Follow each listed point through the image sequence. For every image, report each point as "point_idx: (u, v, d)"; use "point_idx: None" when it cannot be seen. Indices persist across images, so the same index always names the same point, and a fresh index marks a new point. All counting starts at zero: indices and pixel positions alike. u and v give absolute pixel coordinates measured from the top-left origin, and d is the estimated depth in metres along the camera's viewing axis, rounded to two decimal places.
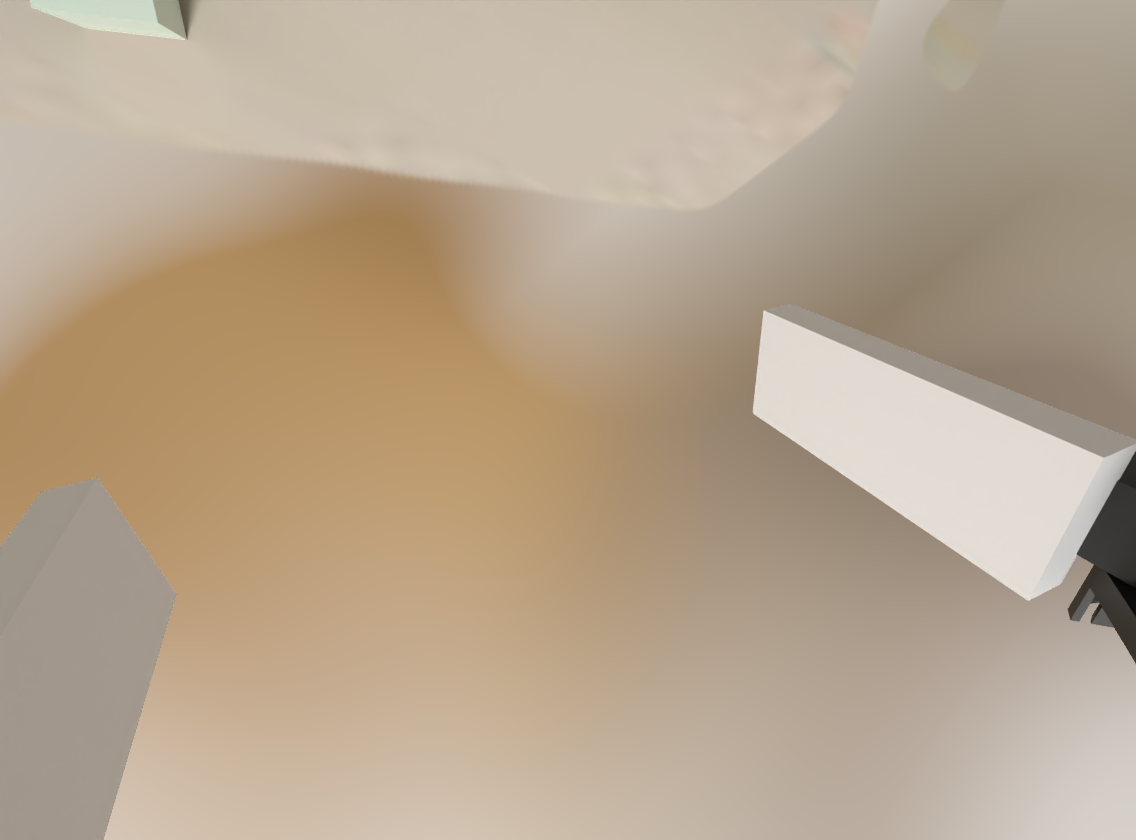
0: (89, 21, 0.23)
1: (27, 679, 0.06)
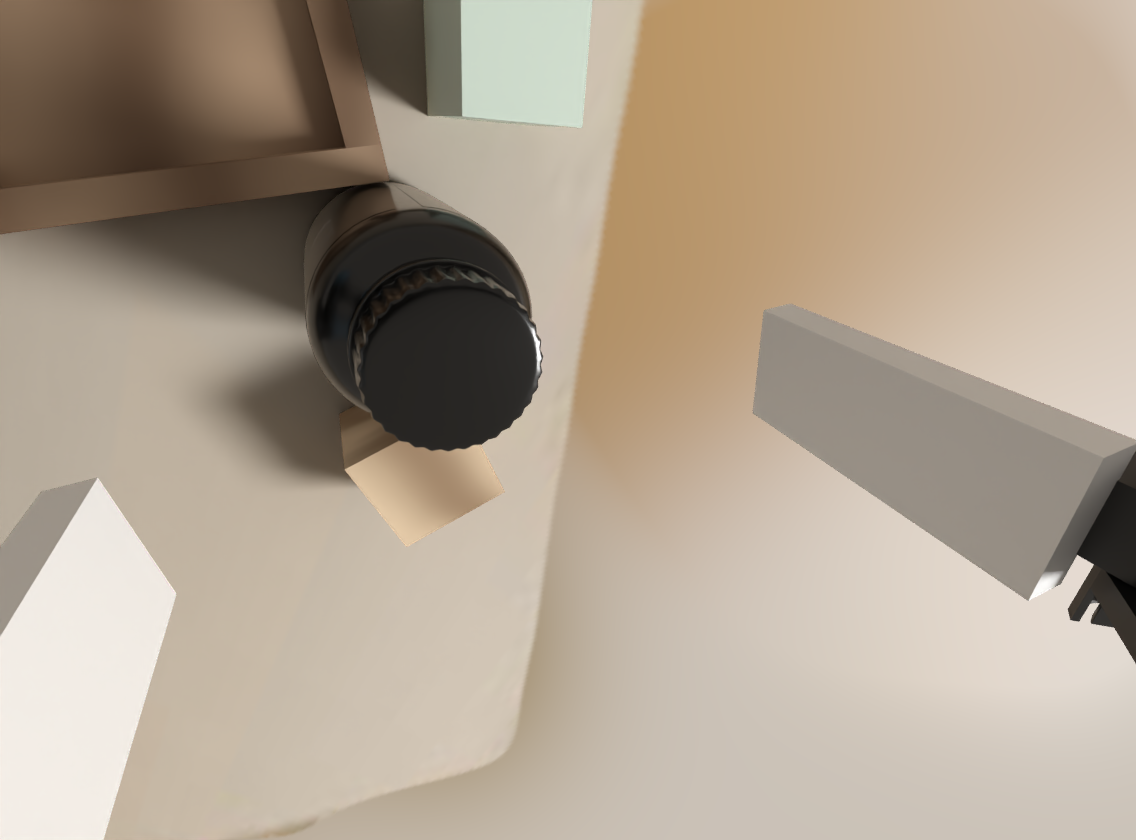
0: None
1: (26, 679, 0.06)
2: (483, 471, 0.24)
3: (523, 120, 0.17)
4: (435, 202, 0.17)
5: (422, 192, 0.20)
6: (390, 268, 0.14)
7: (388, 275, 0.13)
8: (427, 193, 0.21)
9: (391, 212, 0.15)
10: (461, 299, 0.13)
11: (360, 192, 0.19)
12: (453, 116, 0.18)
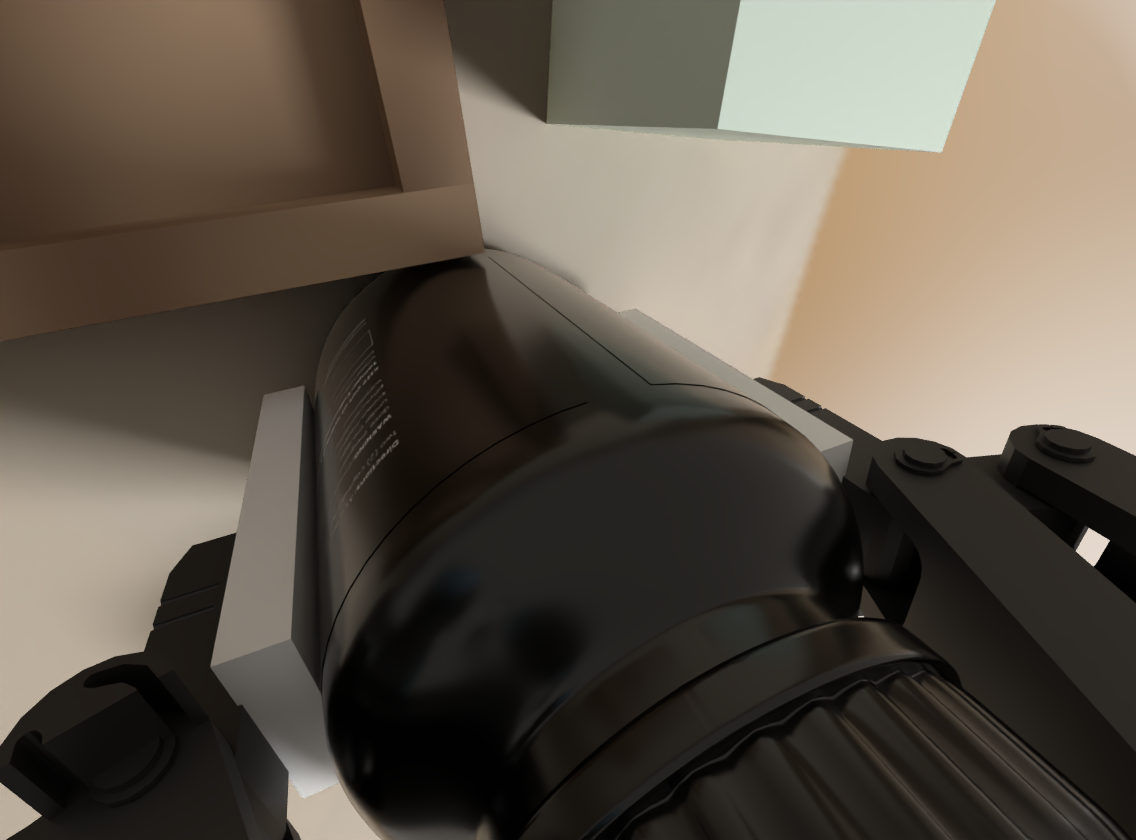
0: None
1: (312, 505, 0.08)
2: None
3: (840, 137, 0.07)
4: (627, 332, 0.07)
5: (552, 278, 0.10)
6: (602, 636, 0.04)
7: (654, 773, 0.03)
8: (550, 272, 0.11)
9: (583, 425, 0.05)
10: None
11: (433, 285, 0.09)
12: (653, 127, 0.08)
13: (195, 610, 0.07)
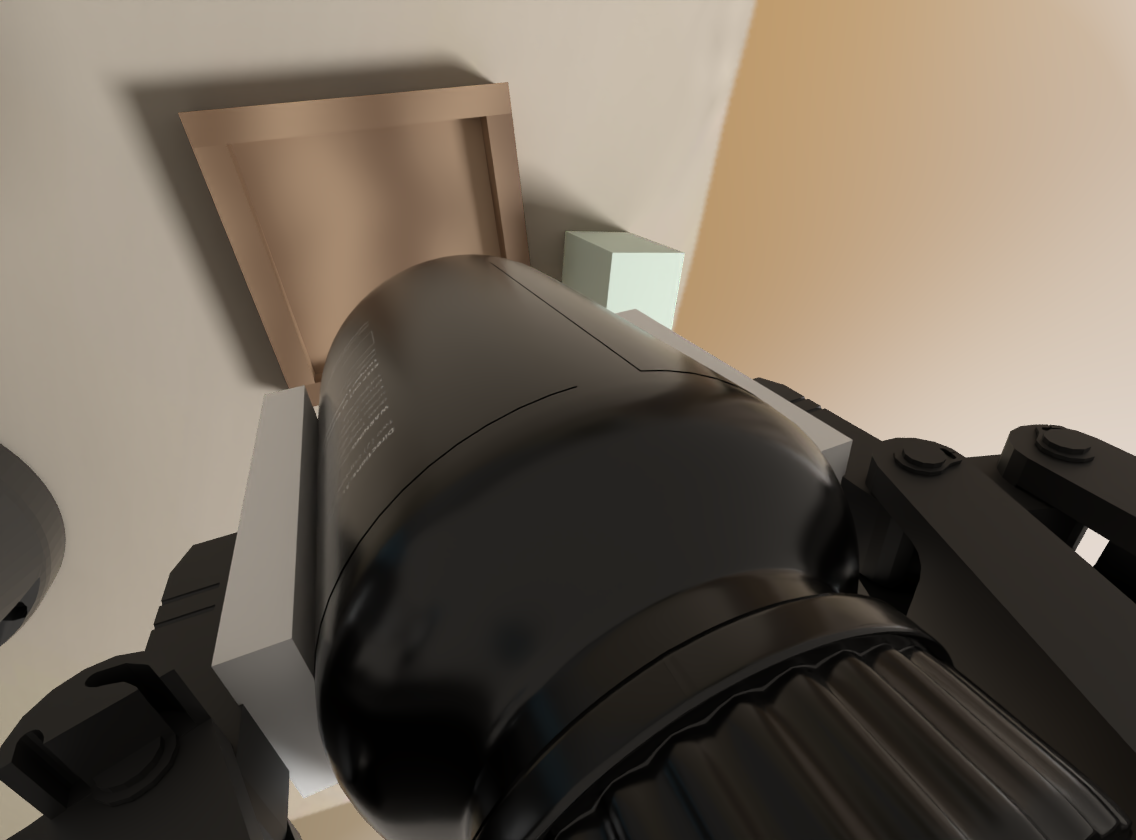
0: None
1: (312, 505, 0.08)
2: None
3: None
4: (621, 327, 0.07)
5: (551, 281, 0.10)
6: (588, 611, 0.04)
7: (633, 735, 0.03)
8: None
9: (571, 406, 0.05)
10: None
11: (434, 287, 0.09)
12: None
13: (196, 610, 0.07)
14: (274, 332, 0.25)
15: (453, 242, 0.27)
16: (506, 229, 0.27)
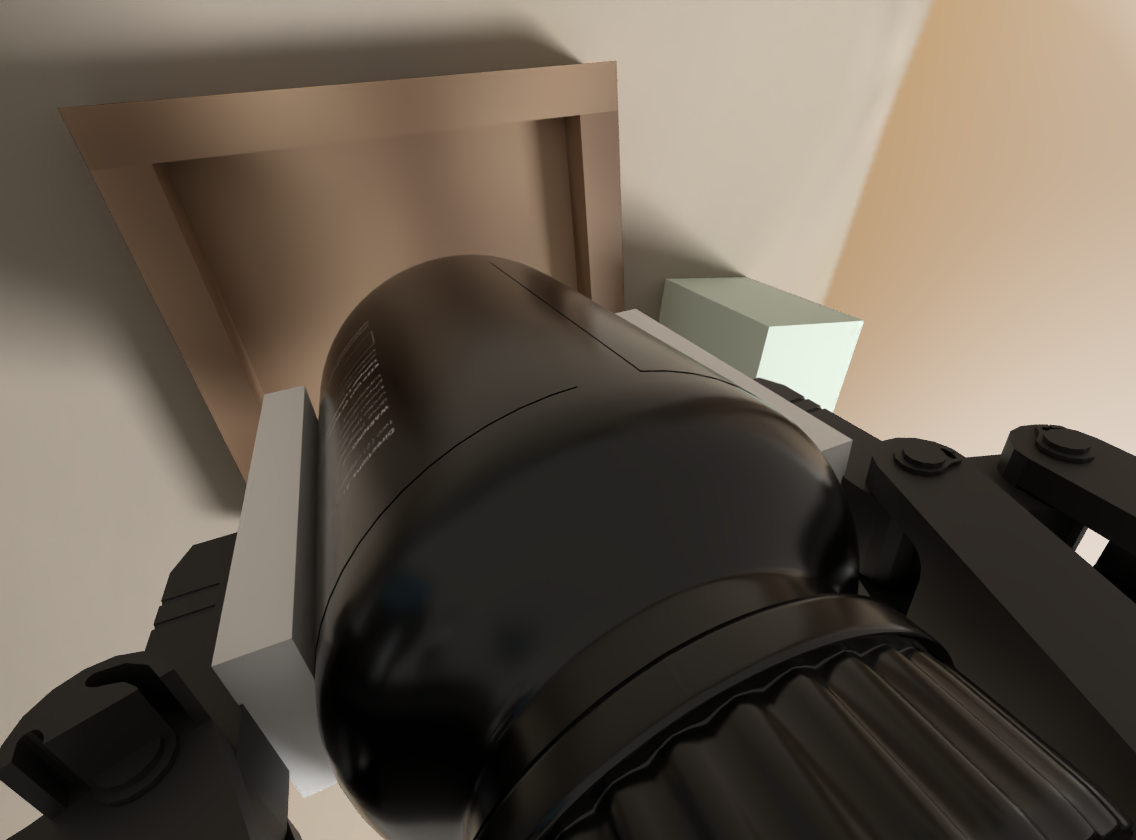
0: None
1: (313, 505, 0.08)
2: None
3: None
4: (621, 327, 0.07)
5: (551, 281, 0.10)
6: (588, 612, 0.04)
7: (633, 737, 0.03)
8: (550, 277, 0.11)
9: (571, 407, 0.05)
10: None
11: (434, 287, 0.09)
12: None
13: (195, 609, 0.07)
14: (244, 453, 0.16)
15: None
16: (596, 285, 0.18)
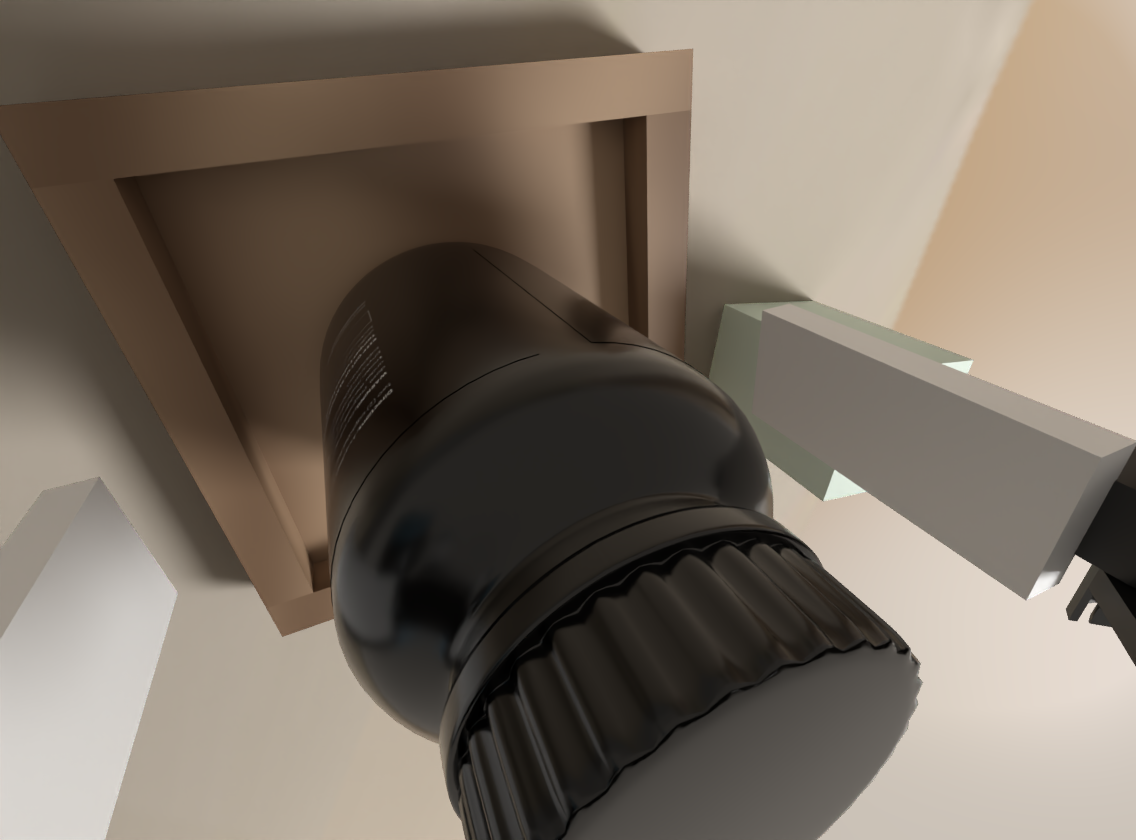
0: None
1: (29, 678, 0.06)
2: None
3: None
4: (583, 307, 0.09)
5: (527, 267, 0.11)
6: (543, 521, 0.06)
7: (568, 592, 0.05)
8: (528, 263, 0.12)
9: (533, 369, 0.06)
10: (802, 697, 0.04)
11: (423, 272, 0.11)
12: (784, 469, 0.17)
13: None
14: (236, 524, 0.13)
15: None
16: (654, 317, 0.15)
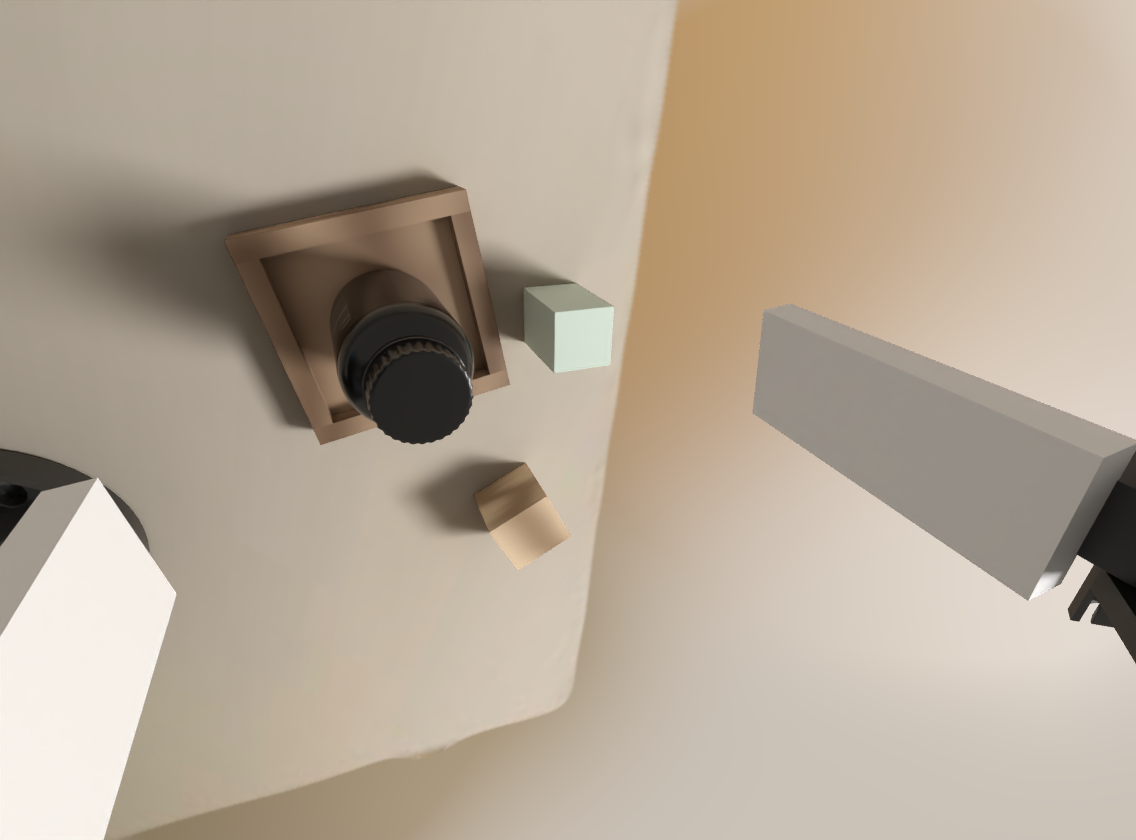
0: None
1: (27, 679, 0.06)
2: (559, 526, 0.42)
3: (582, 368, 0.35)
4: (410, 292, 0.28)
5: (403, 278, 0.31)
6: (383, 342, 0.25)
7: (382, 349, 0.24)
8: (407, 276, 0.32)
9: (382, 308, 0.26)
10: (422, 361, 0.24)
11: (364, 283, 0.30)
12: (546, 363, 0.36)
13: None
14: (300, 388, 0.33)
15: None
16: (473, 295, 0.34)
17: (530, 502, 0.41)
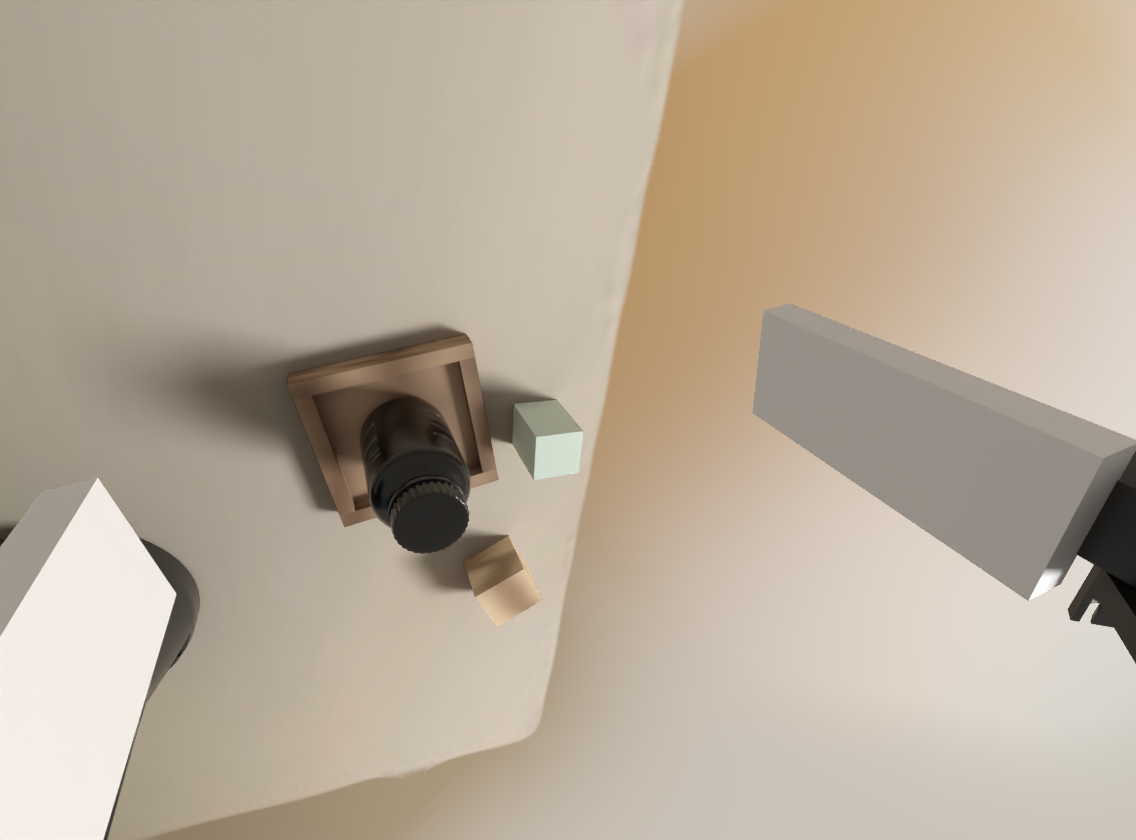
0: None
1: (26, 680, 0.06)
2: (533, 592, 0.51)
3: None
4: (425, 431, 0.37)
5: (420, 411, 0.40)
6: (405, 478, 0.34)
7: (404, 487, 0.33)
8: (423, 406, 0.41)
9: (406, 450, 0.35)
10: (433, 499, 0.33)
11: (390, 415, 0.39)
12: (528, 468, 0.45)
13: None
14: (332, 486, 0.42)
15: None
16: (473, 416, 0.43)
17: (510, 573, 0.49)
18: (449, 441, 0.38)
